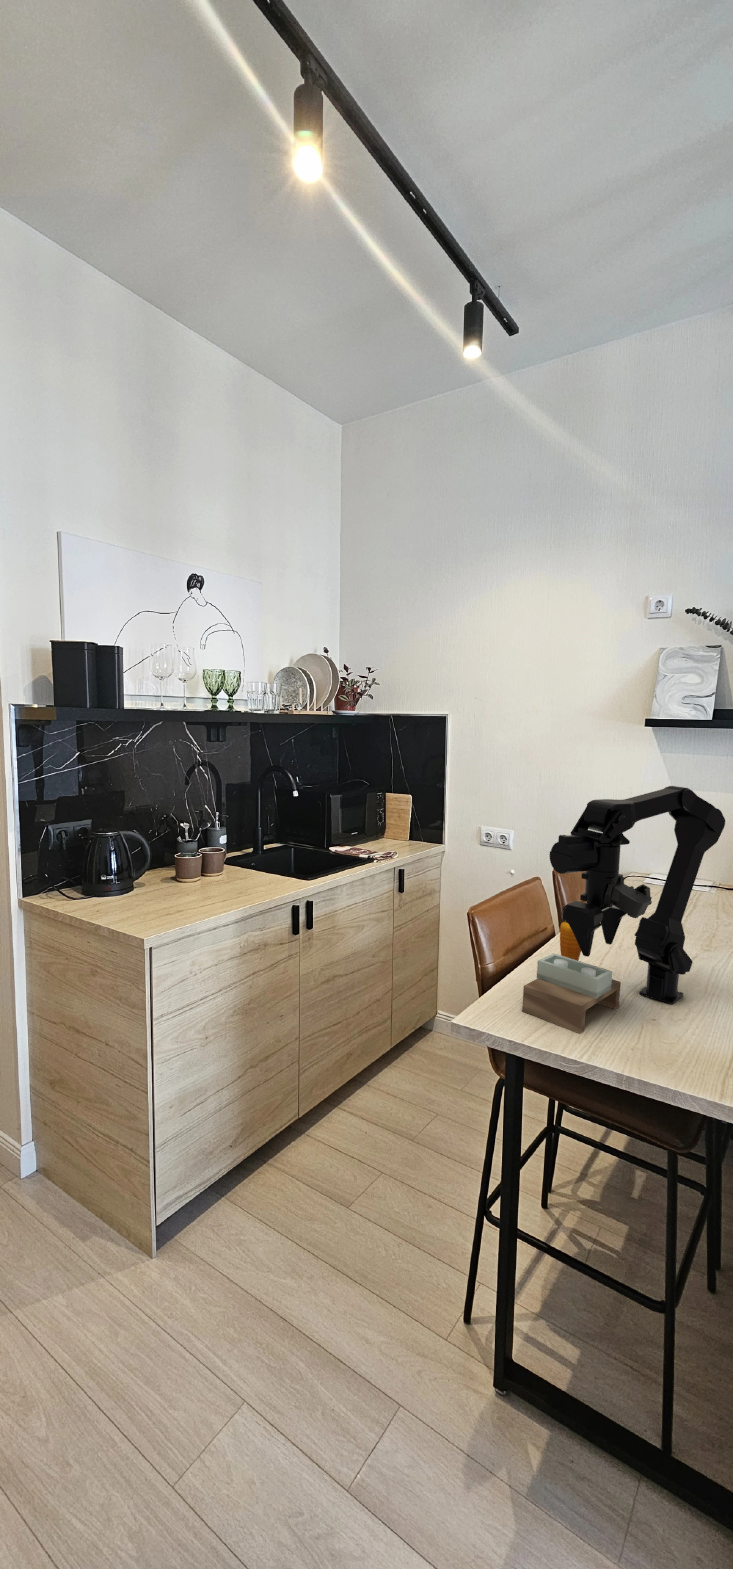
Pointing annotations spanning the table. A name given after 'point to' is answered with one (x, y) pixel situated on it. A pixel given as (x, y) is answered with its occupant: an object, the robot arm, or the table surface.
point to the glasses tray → (574, 975)
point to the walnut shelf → (564, 1003)
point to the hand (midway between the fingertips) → (597, 949)
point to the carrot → (568, 942)
